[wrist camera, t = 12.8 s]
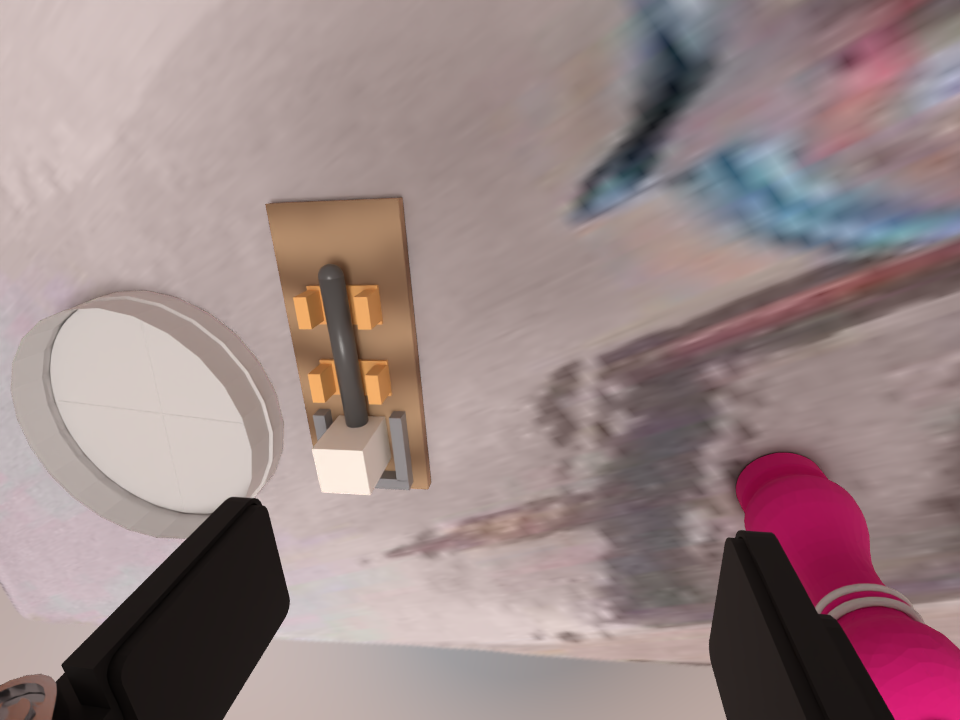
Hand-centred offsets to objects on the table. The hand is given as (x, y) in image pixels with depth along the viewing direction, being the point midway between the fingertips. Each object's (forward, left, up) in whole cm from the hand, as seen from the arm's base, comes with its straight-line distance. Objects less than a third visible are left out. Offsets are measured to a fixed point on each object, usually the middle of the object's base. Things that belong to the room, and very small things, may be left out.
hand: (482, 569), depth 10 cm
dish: (+12, -34, -29) cm, 46 cm away
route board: (+6, -15, -28) cm, 33 cm away
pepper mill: (+17, +18, -28) cm, 38 cm away
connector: (+7, -15, -27) cm, 32 cm away
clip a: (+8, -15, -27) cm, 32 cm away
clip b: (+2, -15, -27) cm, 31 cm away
